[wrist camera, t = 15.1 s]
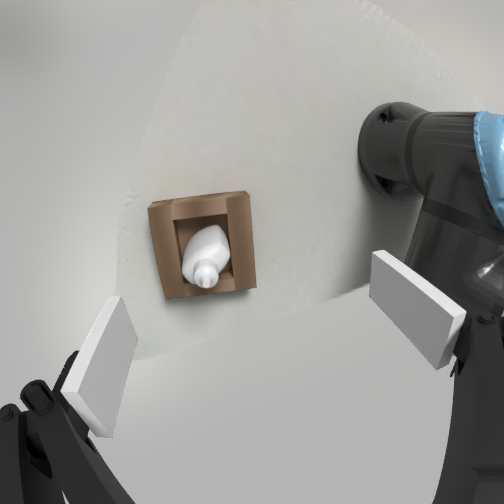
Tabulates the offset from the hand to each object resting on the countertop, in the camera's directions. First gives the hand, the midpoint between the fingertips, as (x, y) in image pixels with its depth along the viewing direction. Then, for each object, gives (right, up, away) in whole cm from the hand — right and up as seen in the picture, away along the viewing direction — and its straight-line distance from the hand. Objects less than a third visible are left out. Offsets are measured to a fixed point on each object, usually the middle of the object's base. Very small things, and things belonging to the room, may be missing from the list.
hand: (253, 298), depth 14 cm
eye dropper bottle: (-6, +4, +23) cm, 24 cm away
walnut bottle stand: (-6, +4, +24) cm, 25 cm away
